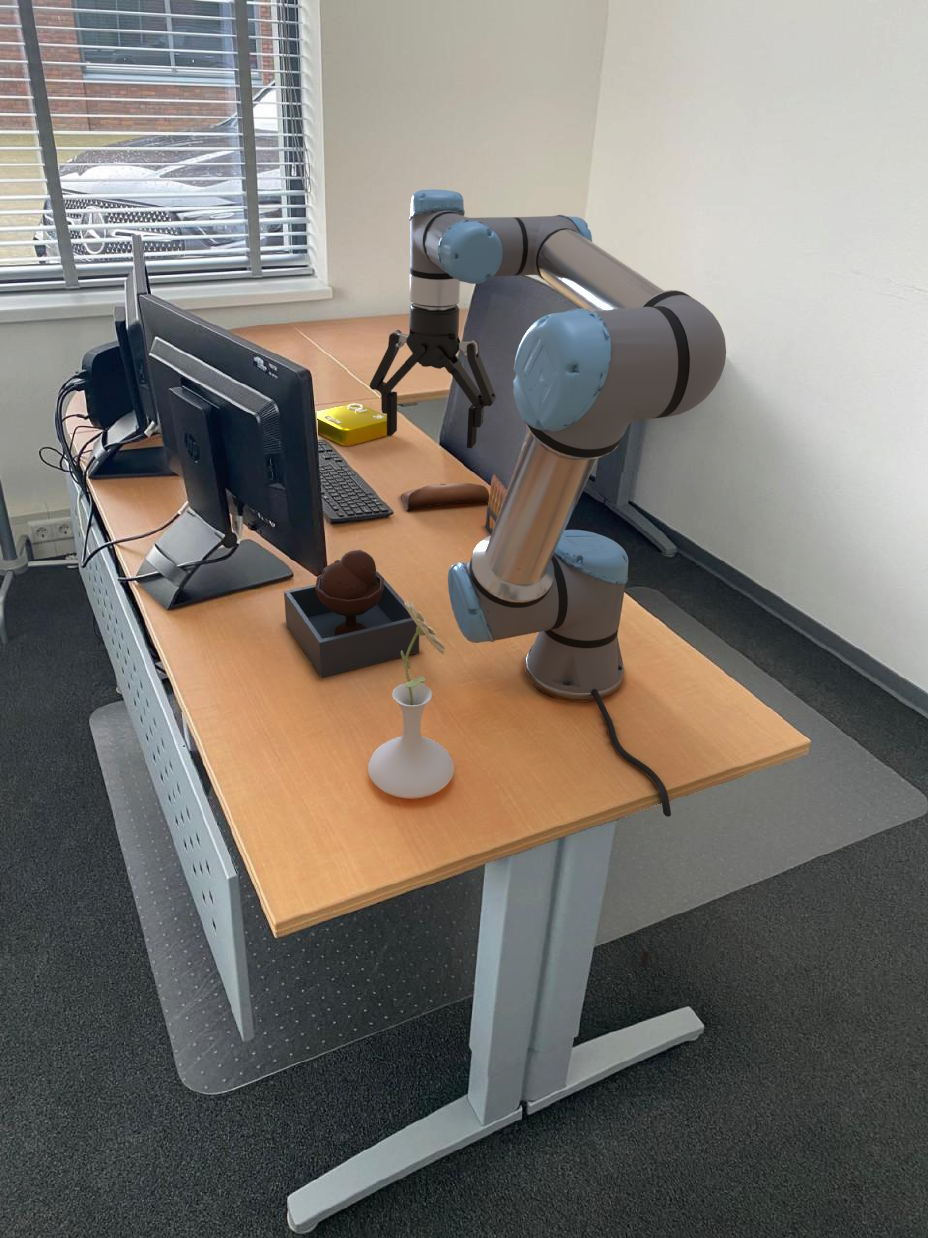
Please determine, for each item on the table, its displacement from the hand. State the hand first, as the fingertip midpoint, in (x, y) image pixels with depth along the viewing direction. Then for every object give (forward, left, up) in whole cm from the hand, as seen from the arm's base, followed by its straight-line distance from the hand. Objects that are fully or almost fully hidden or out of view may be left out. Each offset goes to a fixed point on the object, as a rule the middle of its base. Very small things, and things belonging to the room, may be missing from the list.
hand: (431, 439), depth 147 cm
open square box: (-8, +18, -29) cm, 35 cm away
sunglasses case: (+33, -20, -29) cm, 48 cm away
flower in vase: (-42, +23, -29) cm, 56 cm away
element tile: (+78, -17, -29) cm, 85 cm away
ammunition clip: (+13, -22, -29) cm, 39 cm away
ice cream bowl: (-8, +18, -28) cm, 34 cm away
